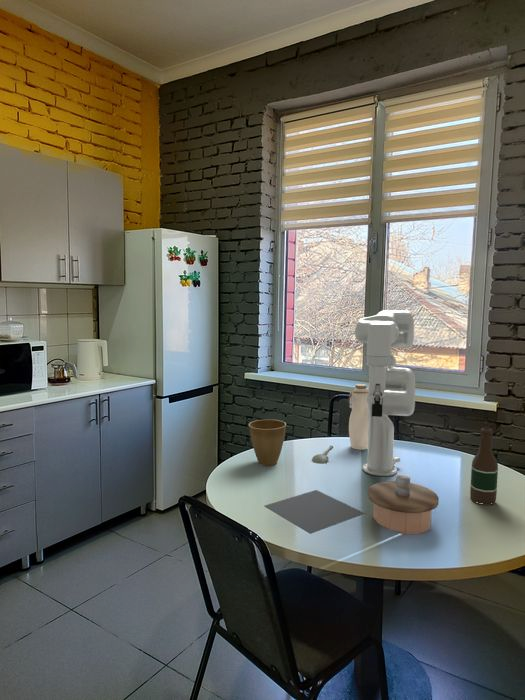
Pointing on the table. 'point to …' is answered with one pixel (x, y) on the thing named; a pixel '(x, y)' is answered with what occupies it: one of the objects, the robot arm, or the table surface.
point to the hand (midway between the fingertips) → (377, 412)
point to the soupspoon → (321, 457)
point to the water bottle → (358, 417)
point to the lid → (403, 496)
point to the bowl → (403, 520)
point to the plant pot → (267, 440)
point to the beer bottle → (484, 471)
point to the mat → (313, 511)
